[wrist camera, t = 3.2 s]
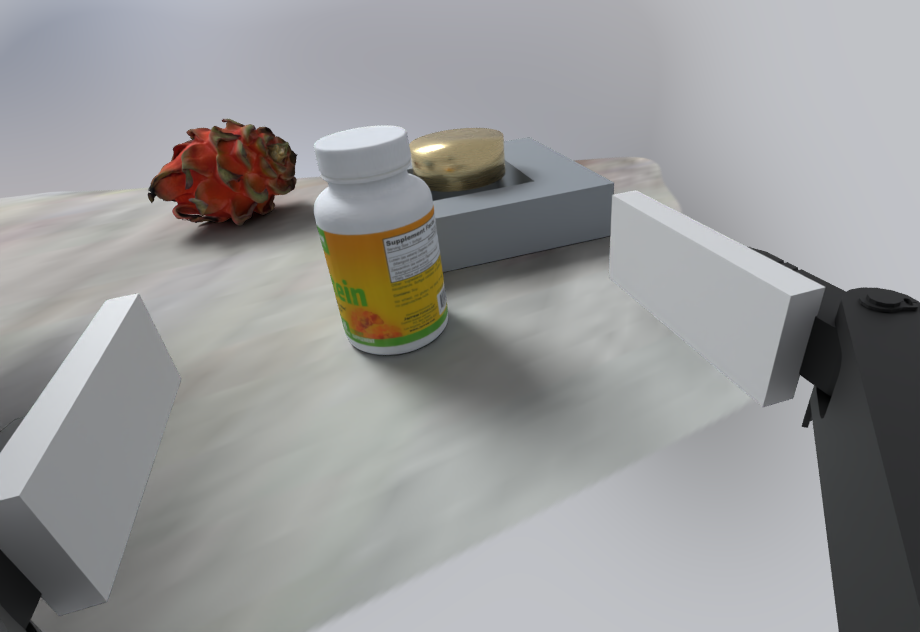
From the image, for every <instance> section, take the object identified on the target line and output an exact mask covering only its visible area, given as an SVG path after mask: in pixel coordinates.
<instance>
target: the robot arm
mask: <svg viewBox="0 0 920 632" xmlns="http://www.w3.org/2000/svg"><path fill="white" fill-rule="evenodd" d="M609 279H611V280H612V281H613V282H614V283H615V284H617V285H618V286H619V287H620V288H621V289H623V290H624V291H625V292H626V293H627V294H629V295H630V296H631V297H632V298H633V299H634V300H636V301H637V302H638V303H639V304H640V305H642V306H643V307H644V308H645V309H646V310H648V311H649V312H650V313H651V314H652V315H653V316H655V317H656V318H657V319H658V320H659V321H661V322H662V323H663V324H664V325H665V326H667V327H668V328H669V329H670V330H671V331H672V332H674V333H675V334H676V335H677V336H678V337H680V338H681V339H682V340H683V341H684V342H686V343H687V344H688V345H689V346H690V347H691V348H693V349H694V350H695V351H696V352H697V353H699V354H700V355H701V356H702V357H703V358H705V359H706V360H707V361H708V362H709V363H711V364H712V365H713V366H714V367H715V368H716V369H718V370H719V371H720V372H721V373H722V374H724V375H725V376H726V377H727V378H728V379H730V380H731V381H732V382H733V383H734V384H735V385H737V386H738V387H739V388H740V389H741V390H743V391H744V392H745V393H746V394H747V395H749V396H750V397H751V398H752V399H753V400H754V401H756V402H757V403H758V404H759V405H760V406H762V407H765V406H769V405H772V404H776V403H779V402H782V401H786V400H789V399H793V397H794V394H795V390H796V387H797V384H798V380H799V377H800V375H801V376H802V377H804V378H805V379H806V380H808V381H809V382H811V383H812V384H813V385H814V388H813V391H812V394H811V397H810V400H809V404H808V407H807V410H806V414H805V416H804V420H803V423H802V427H808V425H809V422H810V421H812V420H813V428H814V436H815V444H816V451H817V459H818V468H819V476H820V484H821V491H822V499H823V508H824V516H825V524H826V531H827V540H828V548H829V556H830V564H831V572H832V580H833V588H834V596H835V604H836V612H837V620H838V628H839V632H920V302H919V301H917V300H915V299H913V298H911V297H909V296H908V295H905V294H902V293H898V292H895V291H892V290H886V289H880V288H857V289H851V290H849V291H847V292H845V291H844V290H842V289H840V288H838V287H836V286H834V285H831V284H830V283H828V282H826V281H824V280H821V279H820V278H818V277H815V276H814V275H812V274H810V273H808V272H806V271H804V270H798V267H796V266H794V265H792V264H789V263H788V262H787V263H784V261H783V260H782V259H779V258H778V257H776V256H774V255H772V254H770V253H768V252H765V251H761V250H758V249H754V248H750V247H746V246H744V245H742V244H740V243H738V242H736V241H734V240H732V239H730V238H729V237H727V236H724V235H723V234H720V233H719V232H717V231H715V230H713V229H711V228H709V227H707V226H705V225H703V224H701V223H699V222H697V221H695V220H693V219H691V218H689V217H687V216H686V215H684V214H682V213H680V212H678V211H676V210H674V209H672V208H670V207H668V206H666V205H664V204H662V203H660V202H658V201H656V200H654V199H652V198H650V197H648V196H646V195H644V194H643V193H641V192H639V191H637V190H634V191H629V192H624V193H619V194H614V195H612V213H611V236H610V260H609ZM180 382H181V377H180V375H179V373H178V371H177V369H176V367H175V365H174V363H173V361H172V359H171V357H170V355H169V353H168V351H167V349H166V347H165V345H164V343H163V341H162V339H161V337H160V335H159V333H158V331H157V329H156V327H155V325H154V323H153V321H152V319H151V317H150V315H149V313H148V311H147V309H146V307H145V305H144V303H143V301H142V299H141V297H140V295H139V293H137V294H132V295H127V296H123V297H118V298H113V299H108V300H106V301H105V302H104V304H103V305H102V307H101V308H100V310H99V311H98V313H97V314H96V315H95V317H94V318H93V320H92V321H91V323H90V324H89V326H88V327H87V328H86V330H85V331H84V333H83V334H82V336H81V337H80V339H79V340H78V341H77V343H76V344H75V346H74V347H73V349H72V350H71V352H70V353H69V354H68V356H67V357H66V359H65V360H64V362H63V363H62V365H61V366H60V367H59V369H58V370H57V372H56V373H55V375H54V376H53V378H52V379H51V380H50V382H49V383H48V385H47V386H46V388H45V389H44V391H43V392H42V393H41V395H40V396H39V398H38V399H37V401H36V402H35V403H34V405H33V406H32V408H31V409H30V411H29V412H28V414H27V415H26V416H25V417H23V418H19V419H15V420H14V421H13V422H11V423H10V424H9V425H8V426H7V427H5V428H4V429H3V430H2V431H1V432H0V632H42V631H41V630H40V629H39V628H38V627H37V626H36V625H35V624H34V623H33V622H32V621H31V620H30V619H31V617H32V615H33V613H34V610H35V608H36V606H37V604H38V602H39V599H40V597H42V598H43V599H44V600H45V602H46V603H47V604H48V605H49V606H50V607H51V608H52V609H53V610H54V611H55V612H56V613H57V614H58V615H59V616H61V615H65V614H68V613H71V612H75V611H78V610H81V609H85V608H88V607H92V606H95V605H98V604H102V603H105V602H107V601H108V598H109V595H110V592H111V589H112V586H113V583H114V580H115V577H116V574H117V571H118V568H119V565H120V562H121V559H122V556H123V553H124V550H125V547H126V544H127V541H128V538H129V535H130V532H131V529H132V526H133V523H134V520H135V517H136V514H137V511H138V508H139V505H140V502H141V499H142V496H143V493H144V490H145V487H146V484H147V481H148V478H149V475H150V472H151V469H152V466H153V463H154V460H155V457H156V454H157V451H158V448H159V445H160V442H161V439H162V436H163V433H164V430H165V427H166V424H167V421H168V418H169V415H170V412H171V409H172V406H173V403H174V400H175V397H176V394H177V391H178V388H179V385H180Z"/></svg>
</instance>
